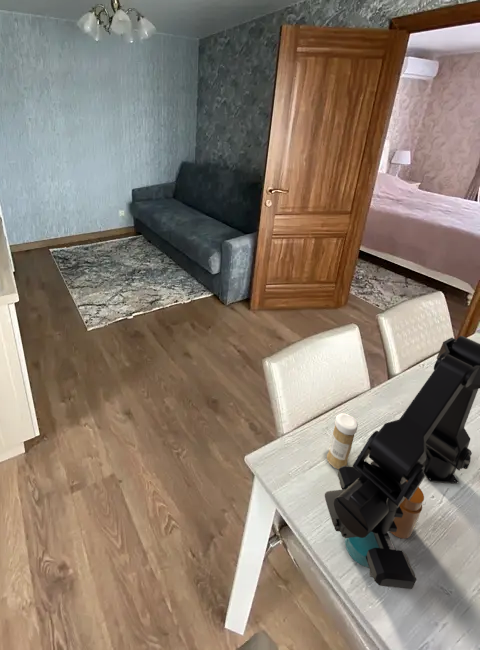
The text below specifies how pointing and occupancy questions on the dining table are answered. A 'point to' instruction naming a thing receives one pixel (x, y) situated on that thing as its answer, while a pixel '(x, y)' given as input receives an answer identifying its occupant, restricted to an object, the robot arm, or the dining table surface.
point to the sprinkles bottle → (342, 440)
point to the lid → (360, 547)
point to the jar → (409, 515)
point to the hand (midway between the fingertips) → (362, 546)
